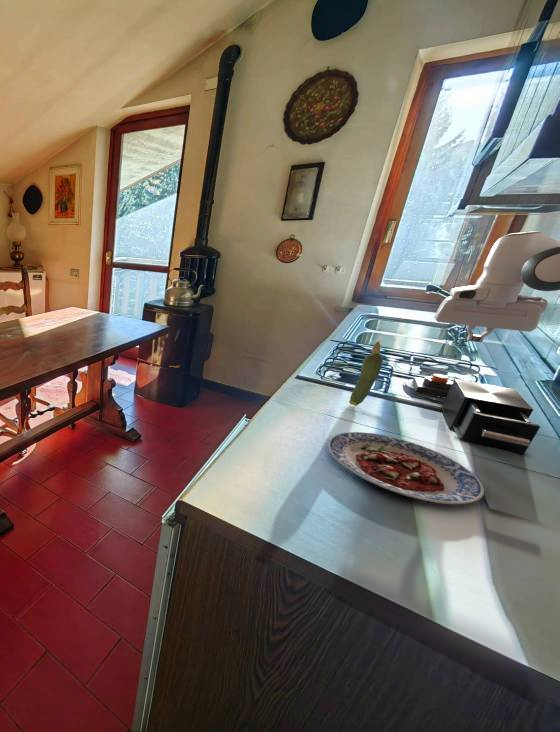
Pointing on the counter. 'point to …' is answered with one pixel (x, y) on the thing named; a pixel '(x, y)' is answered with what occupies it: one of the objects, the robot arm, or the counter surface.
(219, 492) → the counter surface
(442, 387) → the control block
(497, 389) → the cabinet
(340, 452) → the ceramic plate
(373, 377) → the vegetable
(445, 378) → the button
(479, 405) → the small drawer unit
